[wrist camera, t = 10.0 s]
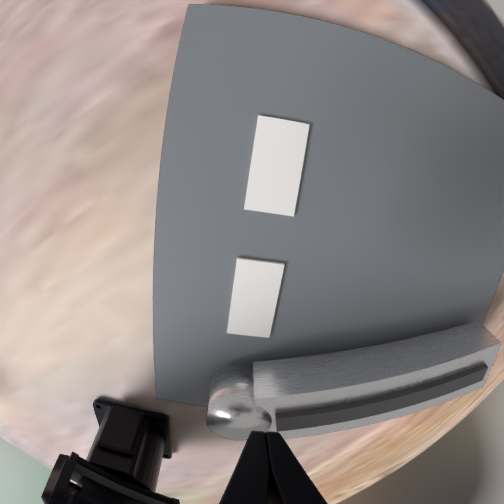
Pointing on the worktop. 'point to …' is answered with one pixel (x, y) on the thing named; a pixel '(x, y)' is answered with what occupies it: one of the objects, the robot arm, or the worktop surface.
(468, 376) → the bar
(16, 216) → the worktop surface
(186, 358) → the label board
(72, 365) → the worktop surface
